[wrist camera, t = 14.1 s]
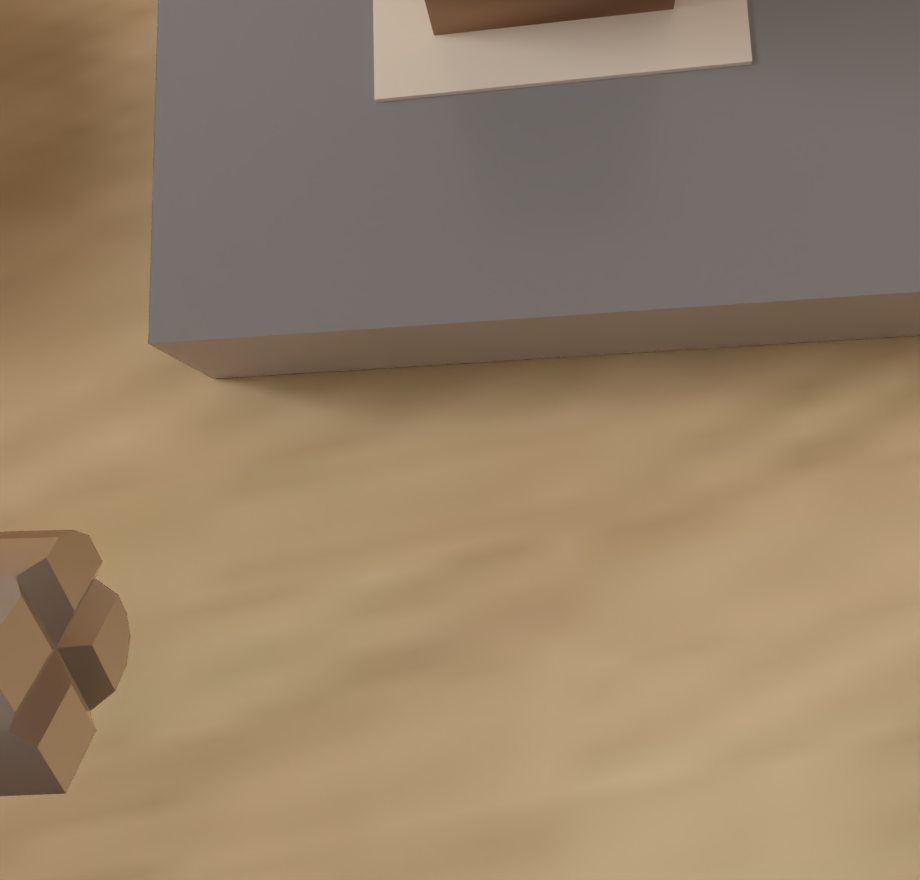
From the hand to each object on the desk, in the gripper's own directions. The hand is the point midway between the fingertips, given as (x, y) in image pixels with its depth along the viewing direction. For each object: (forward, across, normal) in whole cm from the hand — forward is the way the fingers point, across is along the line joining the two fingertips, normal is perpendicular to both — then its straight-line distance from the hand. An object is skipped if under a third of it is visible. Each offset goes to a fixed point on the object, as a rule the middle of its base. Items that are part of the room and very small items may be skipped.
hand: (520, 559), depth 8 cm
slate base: (+16, -1, -2) cm, 16 cm away
